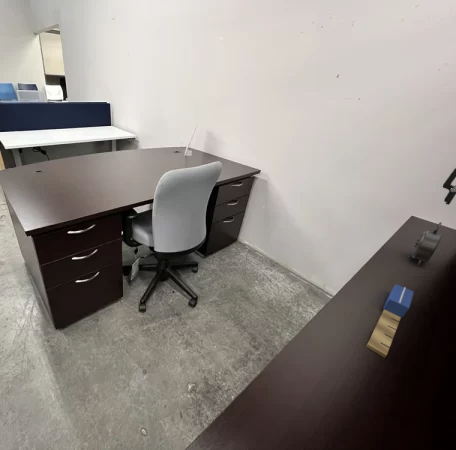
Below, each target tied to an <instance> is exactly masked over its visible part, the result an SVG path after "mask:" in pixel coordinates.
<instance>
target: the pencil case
mask: <svg viewBox="0 0 456 450" xmlns="http://www.w3.org/2000/svg"><path fill="white" fill-rule="evenodd" d="M414 293H415V292H414V291H413V290H411V289H409V288H407V287H405V286H401V285H399V284H397V283H396V284H394V286H393V287H392V289H391V291H390V293H389V294H388V297H387V299H386V301H385V304H384V306H383V310H384V309H385V310H387V311H389V312H391V313H393V314H395V315H397V316H399V317H401V319H402V318H404V316H405V315H406V314H407V312H408V311H409V309H410V307H411V303H412V300H413V296H414Z"/></svg>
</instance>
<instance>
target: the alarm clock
mask: <svg viewBox="0 0 456 450" xmlns="http://www.w3.org/2000/svg"><path fill="white" fill-rule="evenodd" d="M442 224H443V222H442V221H440V222H439V223H438V225H436V227H435V229H433V231H431V230H425V231H423V232H422V233H421V234H420V236H419V238H418V239H417V240H416V242H415V245H414V246H413V247H414V248H413V250H412V252H411V254H410V255H408V258H410V257H412V258H413V259H416V260H418V263H417V264H416V265H417V266H420V265H421V264H422V262H425V263H428V262H429V261H430V259H431V258H432V256H433V255H434V253H435V252H436V249H438V247H439V244H440V242H441V240H442V238H443V234H442V233H438V232H439V229H440V227H441V226H442Z"/></svg>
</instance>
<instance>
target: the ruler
mask: <svg viewBox="0 0 456 450" xmlns="http://www.w3.org/2000/svg"><path fill="white" fill-rule="evenodd" d="M401 319H402V318H401V317H399V316H397V315H395V314H393V313H391V312H389V311H387V310H385V309H383V310H382V312H381V314H380V317H379V319H378V320H377V323H376V325H375V327H374V329H373V332H372V333H371V335H370V337H369V340H368V342H367V344H366V346H365V347H366V348H367V349H368V350H370V351H372V352H374V353H376V354H377V355H379V356H381V357H382V358H383V359H385V358H386V357H387V355H388V353H389V350H390V348H391V346H392V343H393V341H394V337H395V335H396V332H397V329H398V328H399V327H398V326H399V324H400V321H401Z"/></svg>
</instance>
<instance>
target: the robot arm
mask: <svg viewBox="0 0 456 450" xmlns="http://www.w3.org/2000/svg"><path fill="white" fill-rule="evenodd" d="M455 179H456V167H454V168H453V170H452V171H451V173H450V174H449V176H448V177H447V179H445V181H444V183H443V184H442V188H443V189H446V190H447V191H448V193H447V194H446V196H445V197H444V200H443V202H444V203H445V205H450V204H451V203H452V201H453V200H454V198H455V196H456V185H453V184H452V183H453V181H455Z"/></svg>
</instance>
